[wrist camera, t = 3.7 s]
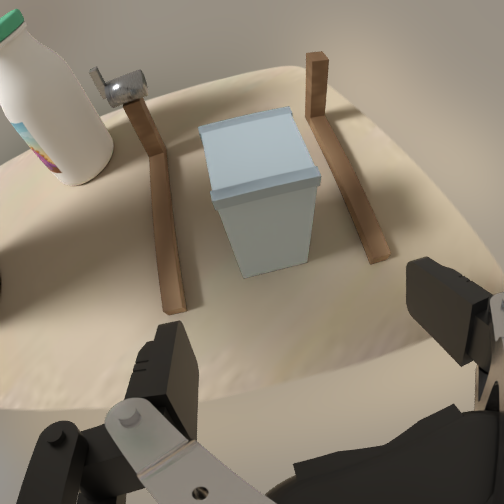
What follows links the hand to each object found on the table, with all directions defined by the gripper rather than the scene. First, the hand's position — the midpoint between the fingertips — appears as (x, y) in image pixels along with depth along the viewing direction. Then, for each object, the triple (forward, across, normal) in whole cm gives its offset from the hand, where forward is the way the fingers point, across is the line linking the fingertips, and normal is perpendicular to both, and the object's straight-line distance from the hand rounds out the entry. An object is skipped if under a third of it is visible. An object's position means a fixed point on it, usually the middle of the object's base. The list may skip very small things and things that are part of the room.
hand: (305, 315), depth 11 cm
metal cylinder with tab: (+18, -8, +12) cm, 23 cm away
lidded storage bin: (+15, +1, -2) cm, 15 cm away
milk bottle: (+26, -16, +8) cm, 32 cm away
